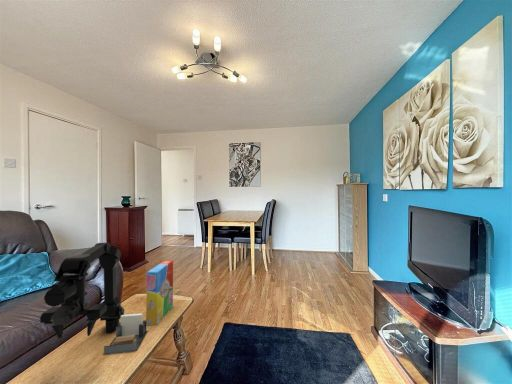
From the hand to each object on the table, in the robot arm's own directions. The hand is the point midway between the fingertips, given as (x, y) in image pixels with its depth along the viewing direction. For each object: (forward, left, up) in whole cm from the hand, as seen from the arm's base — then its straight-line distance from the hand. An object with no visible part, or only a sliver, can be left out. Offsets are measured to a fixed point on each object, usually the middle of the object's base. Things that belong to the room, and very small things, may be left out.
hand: (74, 336), depth 80 cm
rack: (-18, +11, -15) cm, 26 cm away
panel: (-22, +11, -14) cm, 28 cm away
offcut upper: (-13, +11, -12) cm, 21 cm away
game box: (-38, +19, -15) cm, 45 cm away
